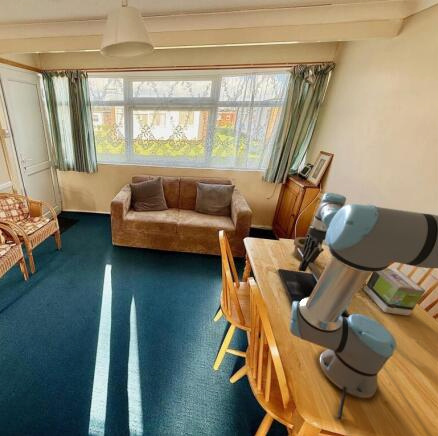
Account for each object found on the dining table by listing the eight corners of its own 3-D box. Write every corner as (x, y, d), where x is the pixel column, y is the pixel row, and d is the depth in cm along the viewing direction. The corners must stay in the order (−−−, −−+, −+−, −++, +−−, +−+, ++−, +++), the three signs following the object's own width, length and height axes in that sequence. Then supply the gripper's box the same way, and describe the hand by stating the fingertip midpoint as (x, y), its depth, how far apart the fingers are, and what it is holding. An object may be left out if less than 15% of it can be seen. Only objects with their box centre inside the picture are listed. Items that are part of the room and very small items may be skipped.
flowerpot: (319, 266, 134) (338, 220, 121) (292, 261, 138) (307, 216, 125) (312, 252, 146) (328, 210, 133) (287, 248, 150) (300, 207, 137)
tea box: (409, 316, 101) (427, 290, 95) (383, 312, 103) (399, 287, 97) (385, 292, 114) (399, 268, 108) (362, 289, 116) (374, 266, 110)
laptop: (294, 312, 104) (295, 309, 103) (278, 271, 130) (278, 268, 129) (348, 321, 99) (349, 318, 98) (320, 277, 125) (321, 274, 124)
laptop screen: (319, 287, 95) (321, 286, 95) (297, 248, 121) (298, 248, 121) (349, 319, 98) (351, 318, 97) (321, 274, 124) (322, 274, 124)
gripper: (338, 236, 93) (315, 280, 103) (323, 222, 104) (305, 263, 115) (317, 233, 94) (297, 277, 105) (305, 220, 106) (289, 260, 116)
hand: (301, 270), depth 110 cm, fingers closed
